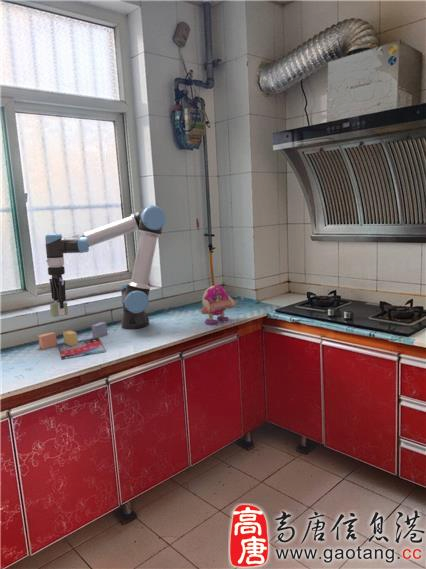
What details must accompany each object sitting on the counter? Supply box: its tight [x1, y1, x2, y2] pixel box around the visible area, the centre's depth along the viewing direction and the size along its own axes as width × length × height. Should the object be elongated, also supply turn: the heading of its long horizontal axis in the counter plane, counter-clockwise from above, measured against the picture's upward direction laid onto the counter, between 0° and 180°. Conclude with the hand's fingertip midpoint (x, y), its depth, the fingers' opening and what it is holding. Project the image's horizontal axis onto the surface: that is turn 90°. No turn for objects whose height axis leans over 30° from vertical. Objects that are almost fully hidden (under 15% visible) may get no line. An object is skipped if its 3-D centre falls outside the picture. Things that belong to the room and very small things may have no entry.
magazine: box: [57, 337, 107, 361], centre depth 202 cm, size 19×25×1 cm
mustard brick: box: [62, 330, 79, 346], centre depth 209 cm, size 7×4×6 cm, turn 44°
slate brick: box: [90, 321, 108, 338], centre depth 221 cm, size 7×4×6 cm, turn 154°
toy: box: [200, 284, 238, 326], centre depth 232 cm, size 25×9×20 cm, turn 129°
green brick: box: [49, 301, 69, 318], centre depth 212 cm, size 7×4×6 cm, turn 132°
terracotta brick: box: [37, 331, 58, 350], centre depth 208 cm, size 7×4×6 cm, turn 133°
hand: (59, 314), depth 213 cm, fingers closed on green brick, 3 cm apart
